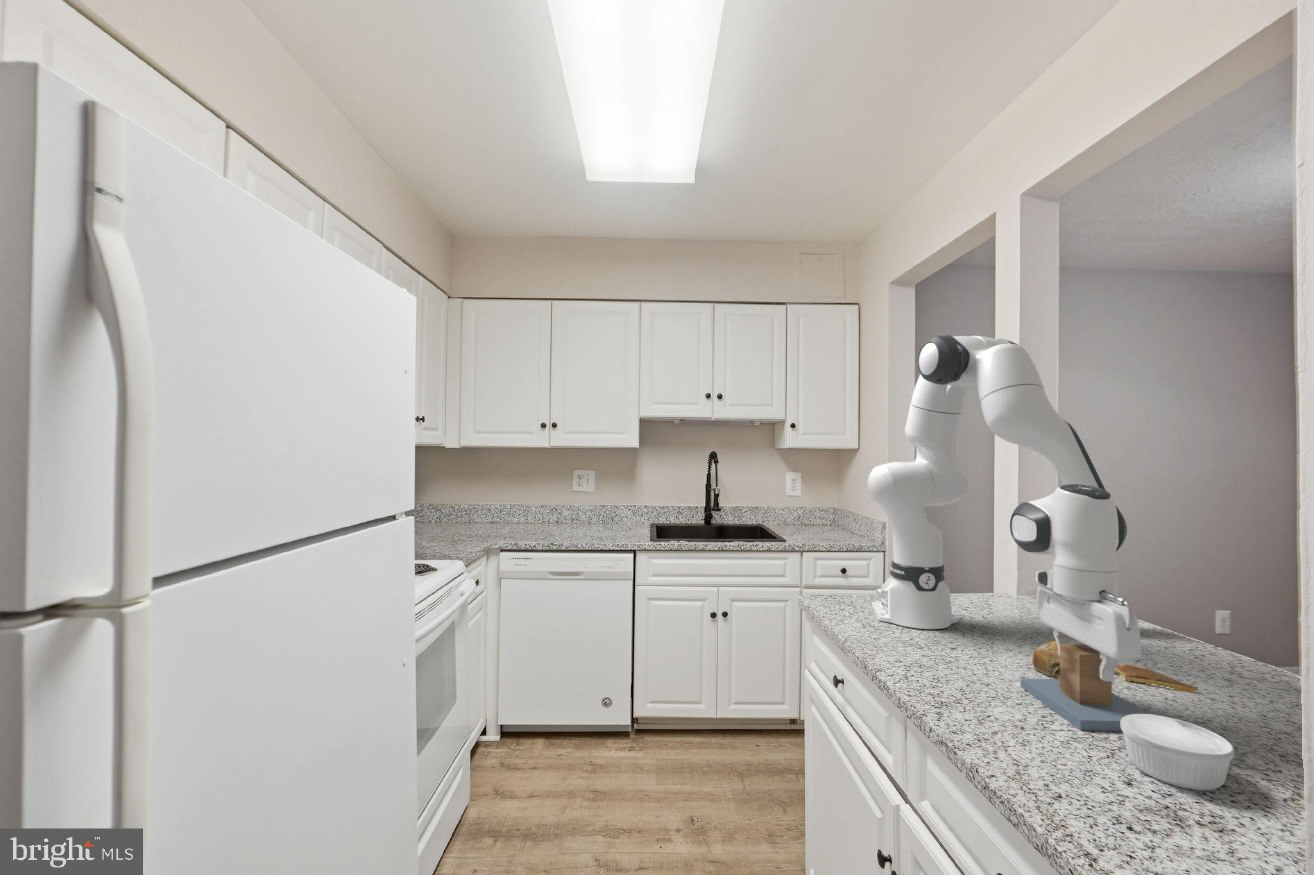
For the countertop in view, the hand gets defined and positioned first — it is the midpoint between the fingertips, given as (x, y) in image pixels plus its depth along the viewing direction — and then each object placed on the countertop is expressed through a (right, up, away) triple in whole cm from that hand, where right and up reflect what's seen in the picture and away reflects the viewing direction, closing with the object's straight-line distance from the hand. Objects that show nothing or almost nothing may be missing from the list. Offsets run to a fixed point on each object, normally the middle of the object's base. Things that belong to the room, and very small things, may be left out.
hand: (1084, 668), depth 98 cm
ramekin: (-2, -7, -19) cm, 20 cm away
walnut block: (0, -5, 0) cm, 5 cm away
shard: (+21, -7, +12) cm, 25 cm away
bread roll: (+7, -7, +15) cm, 18 cm away
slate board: (0, -6, 0) cm, 6 cm away
